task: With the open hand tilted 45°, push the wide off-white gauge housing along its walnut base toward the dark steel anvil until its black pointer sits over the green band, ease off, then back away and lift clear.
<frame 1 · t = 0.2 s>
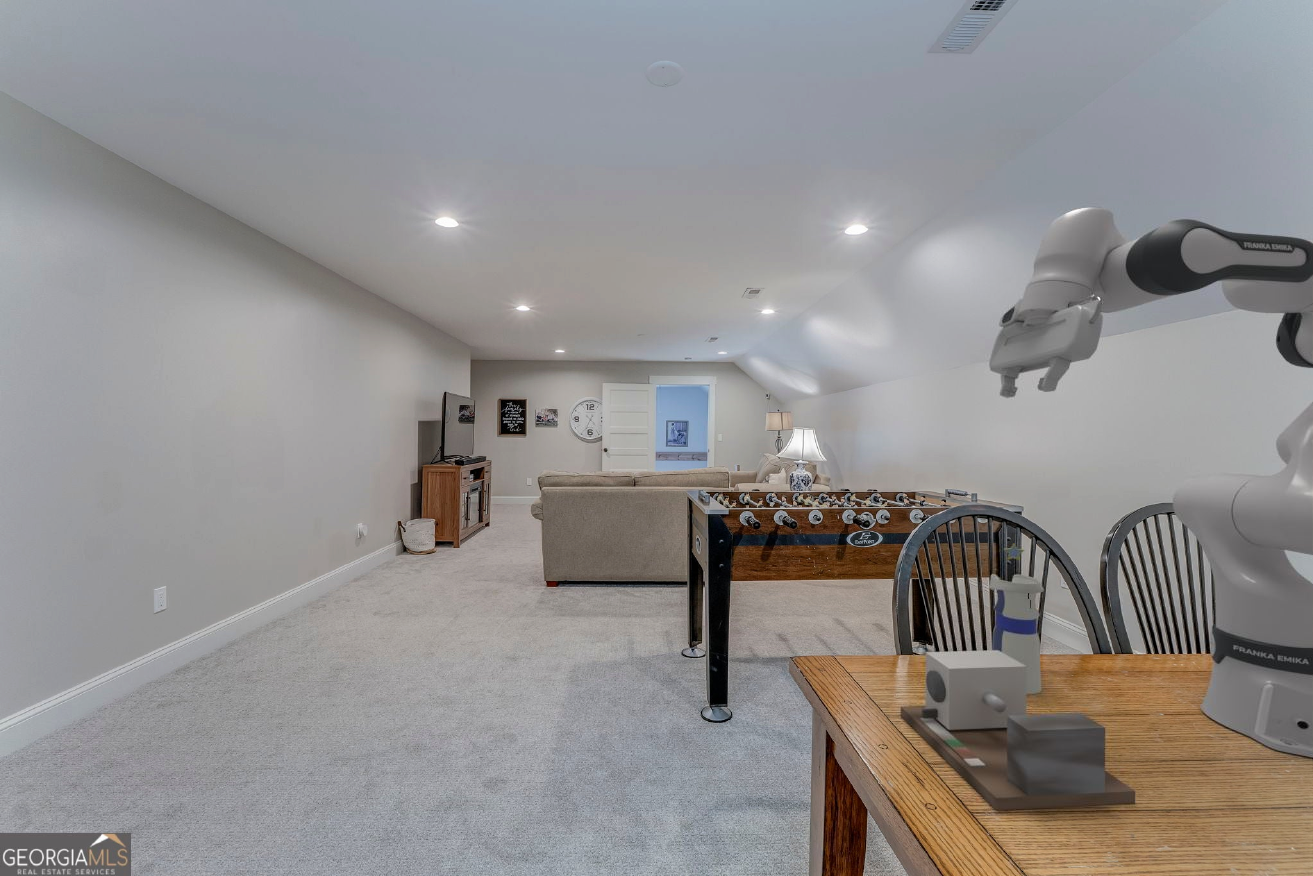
hand: (1025, 393, 85), 52 cm above the table, tool tilted 20°, fingers open, 8 cm apart
gauge stand: (1002, 753, 77), on the table
gauge housing: (972, 692, 81), point 7 cm above the table, slide at 0.0 cm
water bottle: (1013, 684, 99), on the table
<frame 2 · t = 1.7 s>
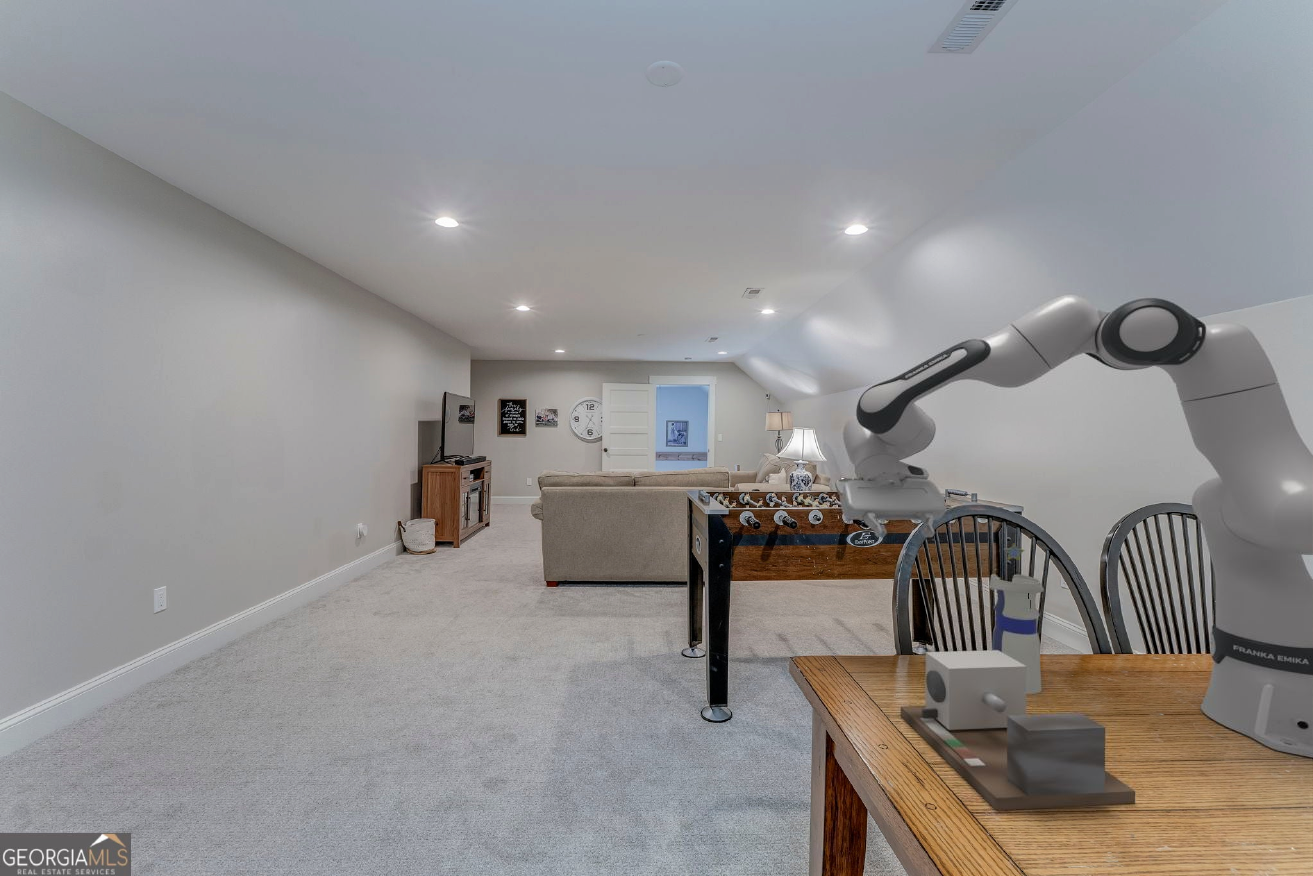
hand: (905, 535, 102), 26 cm above the table, tool tilted 45°, fingers open, 8 cm apart
nothing on the table moved.
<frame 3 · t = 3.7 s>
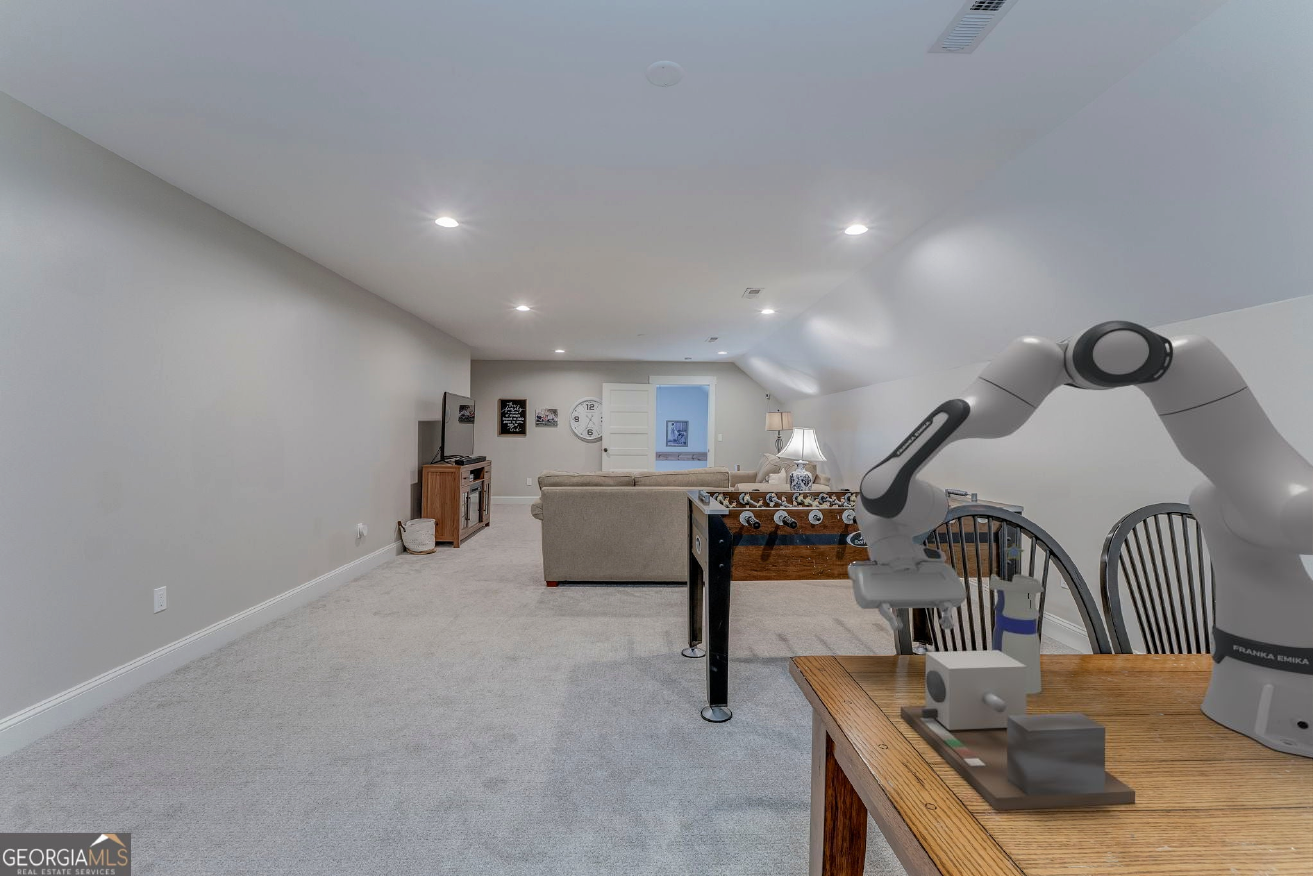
hand: (923, 628, 97), 11 cm above the table, tool tilted 45°, fingers open, 8 cm apart
nothing on the table moved.
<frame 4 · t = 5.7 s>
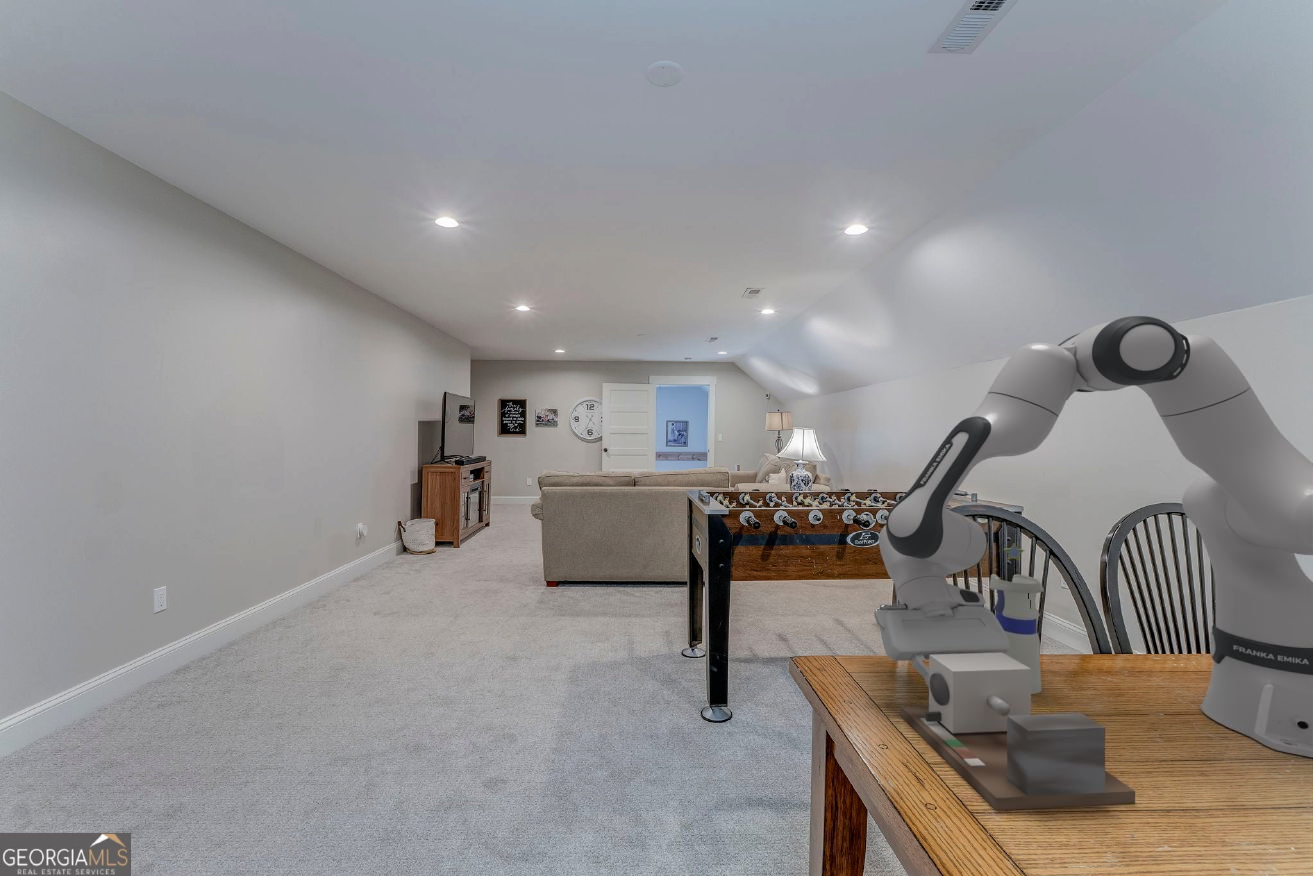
hand: (963, 684, 85), 6 cm above the table, tool tilted 45°, fingers open, 8 cm apart
gauge housing: (977, 695, 81), point 7 cm above the table, slide at 0.9 cm, touching gripper
everything else where it was.
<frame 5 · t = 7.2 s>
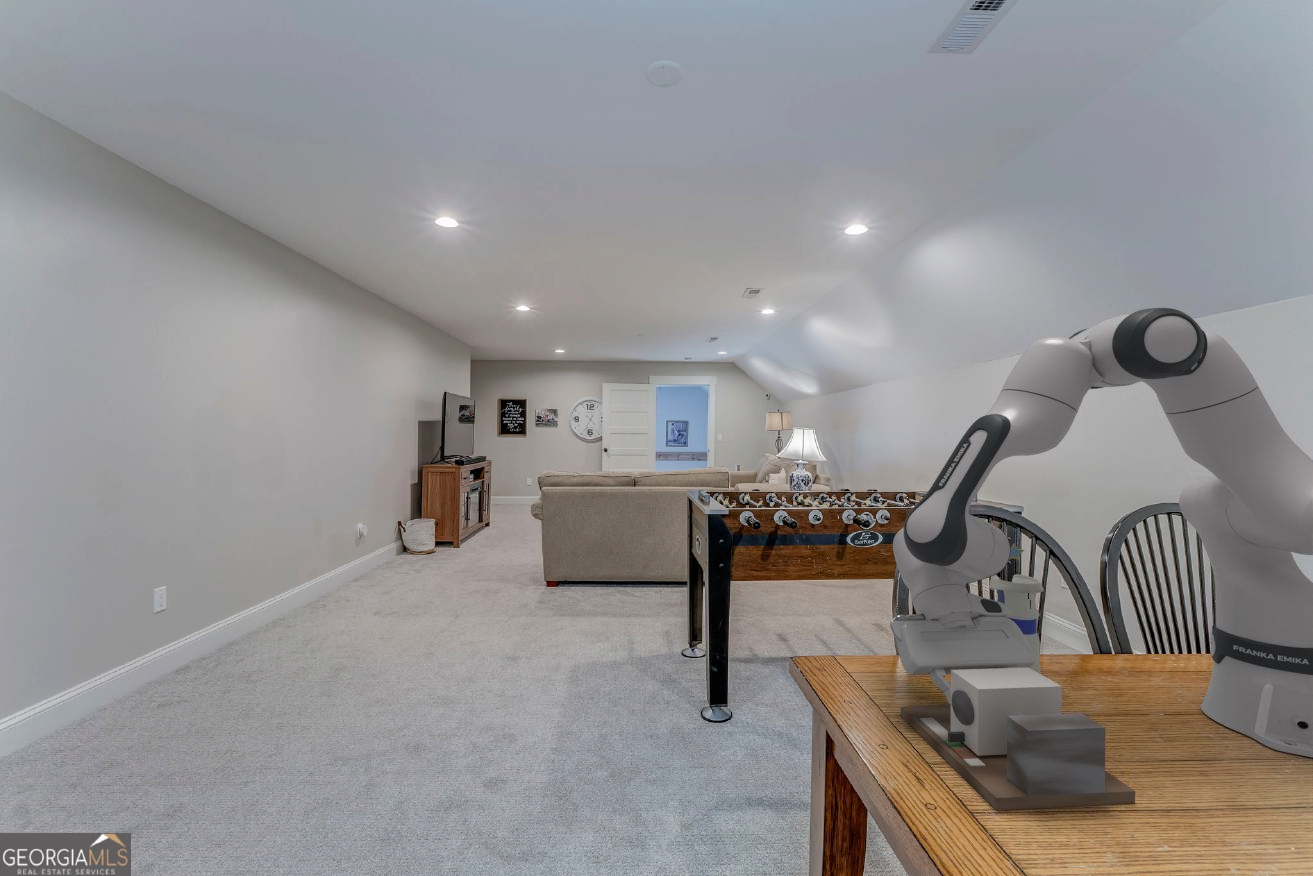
hand: (986, 701, 80), 6 cm above the table, tool tilted 45°
gauge housing: (1003, 714, 75), point 6 cm above the table, slide at 6.4 cm, touching gripper
everything else where it was.
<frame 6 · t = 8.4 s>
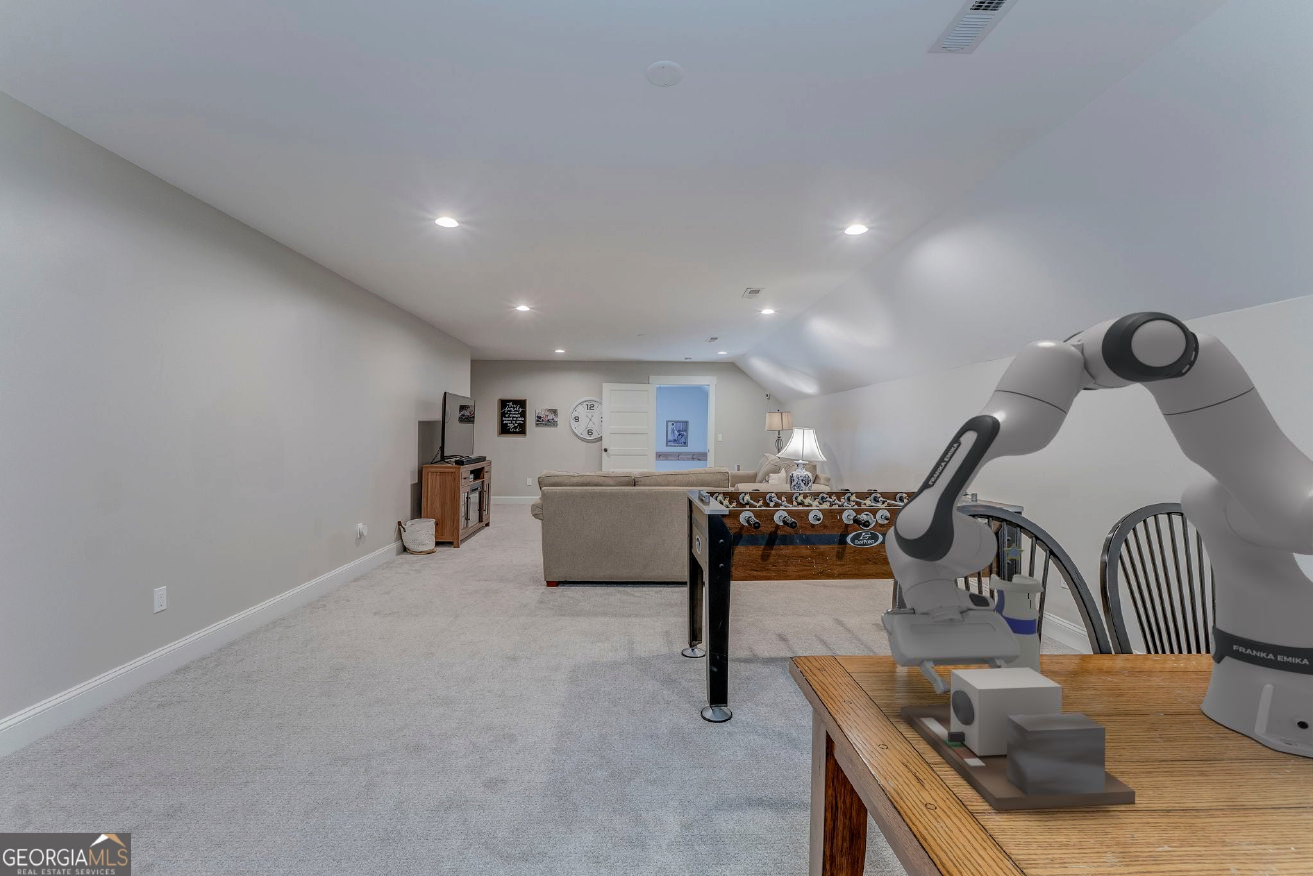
hand: (973, 692, 83), 6 cm above the table, tool tilted 45°, fingers open, 8 cm apart
gauge housing: (1003, 714, 75), point 7 cm above the table, slide at 6.4 cm
everything else where it was.
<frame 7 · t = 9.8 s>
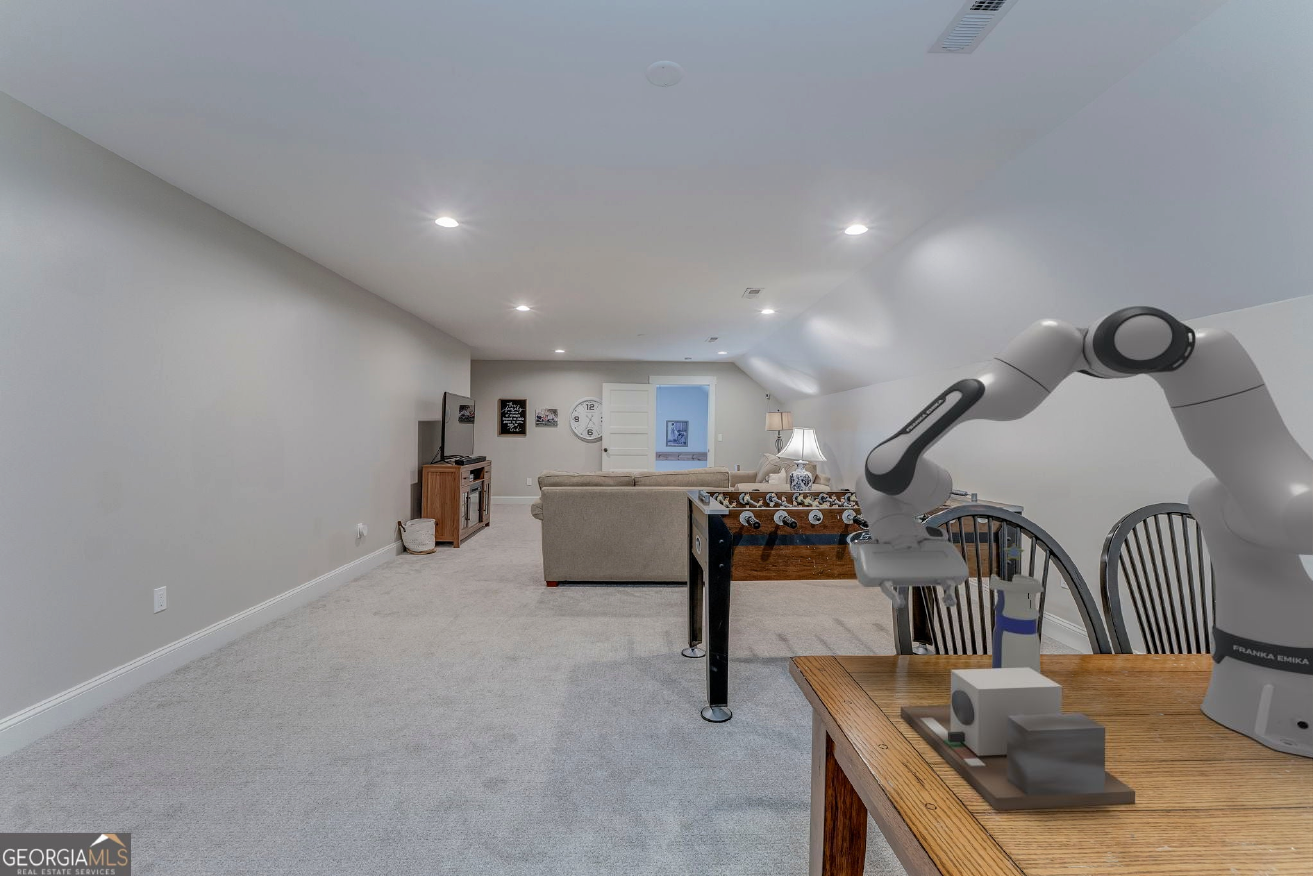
hand: (926, 605, 95), 15 cm above the table, tool tilted 45°, fingers open, 8 cm apart
nothing on the table moved.
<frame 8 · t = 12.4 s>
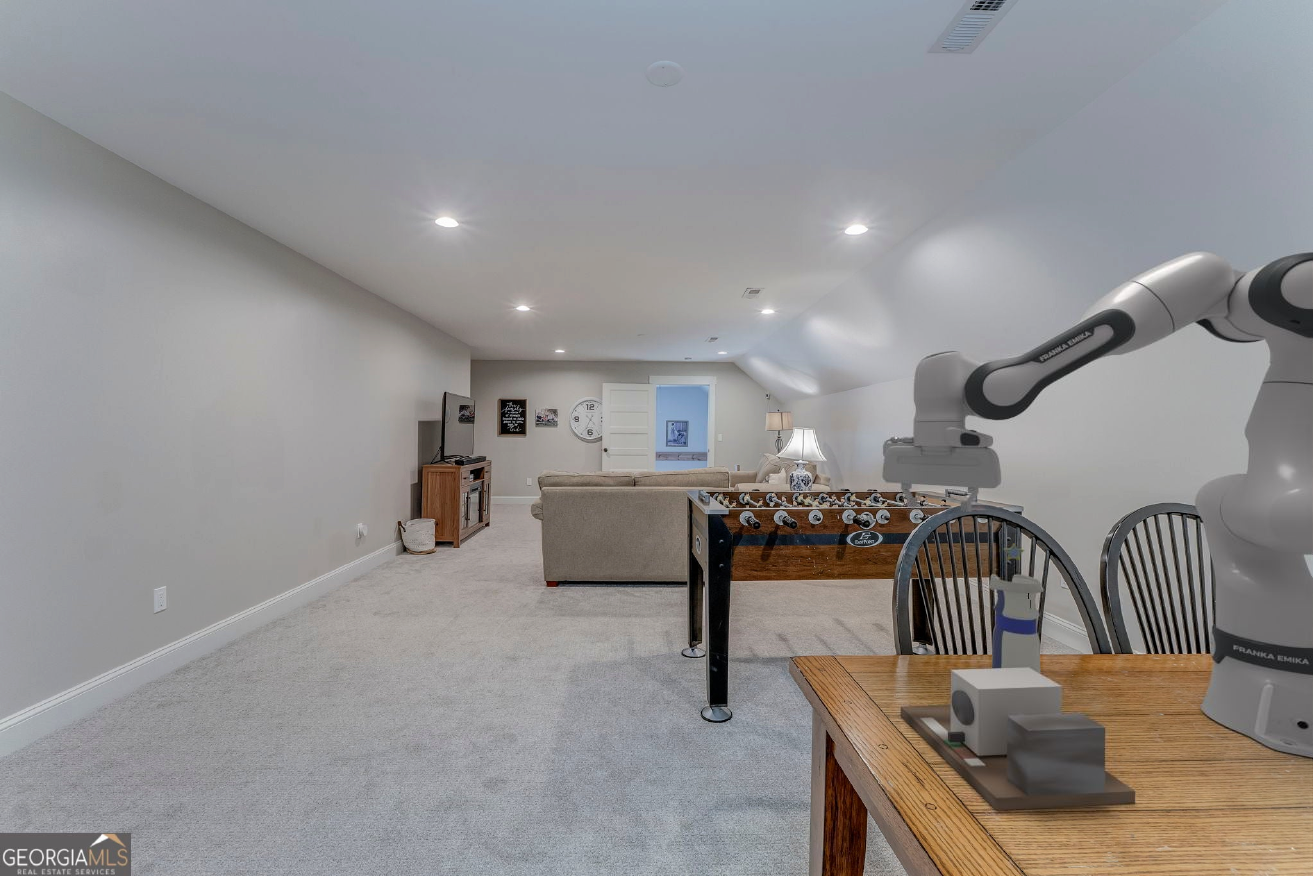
hand: (938, 509, 104), 31 cm above the table, tool pointing down, fingers open, 8 cm apart
nothing on the table moved.
at the end: gauge housing slide at 6.4 cm; the gripper is holding nothing; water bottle moved 0.2 cm from its start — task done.
